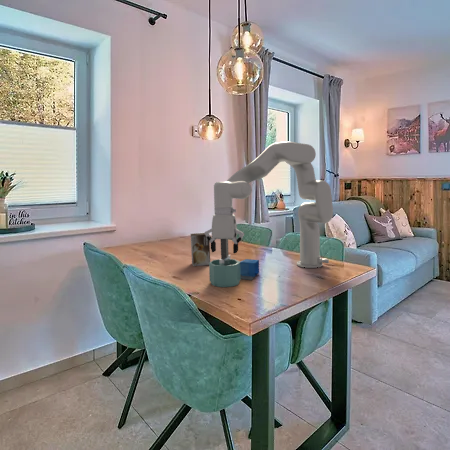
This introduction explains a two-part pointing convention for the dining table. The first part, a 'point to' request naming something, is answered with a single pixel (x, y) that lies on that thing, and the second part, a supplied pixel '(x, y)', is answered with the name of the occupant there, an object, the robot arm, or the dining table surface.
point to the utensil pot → (224, 273)
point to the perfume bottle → (249, 267)
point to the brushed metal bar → (224, 253)
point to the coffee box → (200, 249)
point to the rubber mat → (247, 277)
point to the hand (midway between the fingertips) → (224, 252)
